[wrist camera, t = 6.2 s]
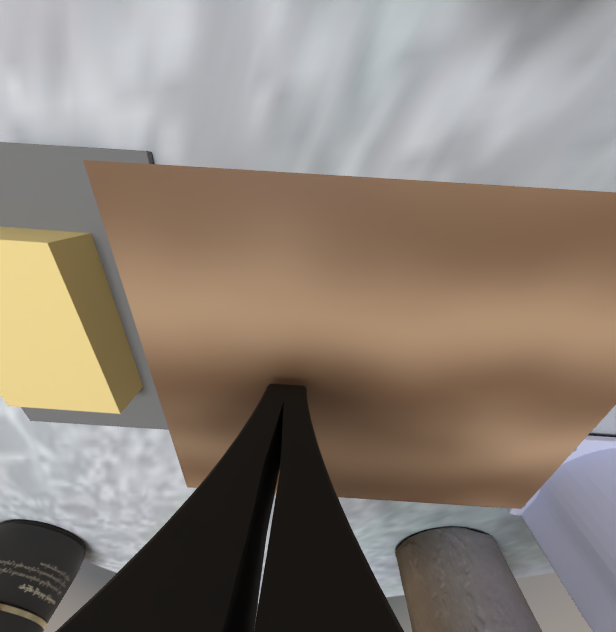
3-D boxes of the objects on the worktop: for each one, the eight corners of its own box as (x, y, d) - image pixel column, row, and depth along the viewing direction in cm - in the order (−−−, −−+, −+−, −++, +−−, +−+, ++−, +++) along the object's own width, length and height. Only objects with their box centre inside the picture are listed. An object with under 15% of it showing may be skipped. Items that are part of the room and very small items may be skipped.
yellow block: (8, 406, 13) (44, 379, 15) (120, 413, 13) (143, 386, 15) (-118, 231, 9) (-47, 223, 11) (47, 243, 9) (91, 232, 11)
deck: (478, 440, 17) (521, 508, 13) (214, 423, 17) (187, 487, 13) (623, 195, 10) (796, 203, 6) (166, 167, 10) (82, 159, 6)
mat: (207, 428, 17) (206, 432, 17) (34, 416, 17) (30, 420, 17) (151, 151, 10) (146, 151, 9) (-159, 132, 10) (-172, 131, 9)
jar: (40, 560, 30) (-41, 671, 23) (-33, 520, 25) (-159, 642, 19) (111, 555, 28) (47, 671, 22) (47, 511, 24) (-59, 641, 17)
